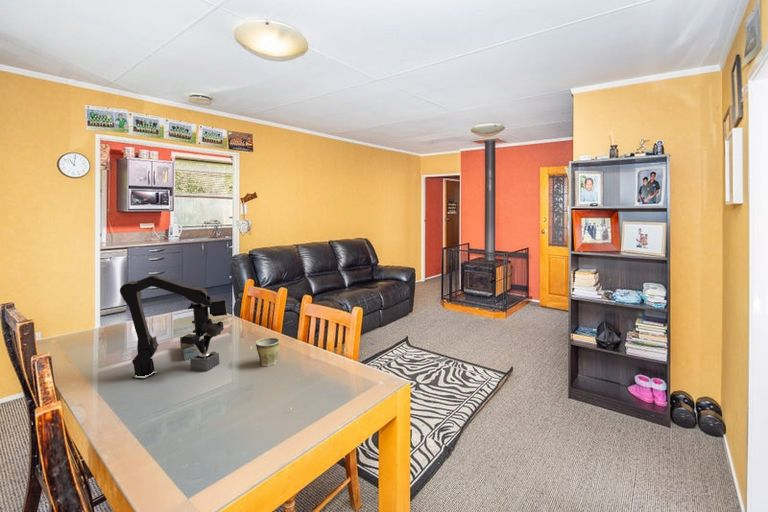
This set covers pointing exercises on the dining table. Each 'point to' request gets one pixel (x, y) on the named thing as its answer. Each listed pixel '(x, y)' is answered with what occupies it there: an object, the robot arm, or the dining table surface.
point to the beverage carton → (189, 350)
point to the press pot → (204, 362)
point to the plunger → (204, 353)
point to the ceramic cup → (268, 351)
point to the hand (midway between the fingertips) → (204, 352)
